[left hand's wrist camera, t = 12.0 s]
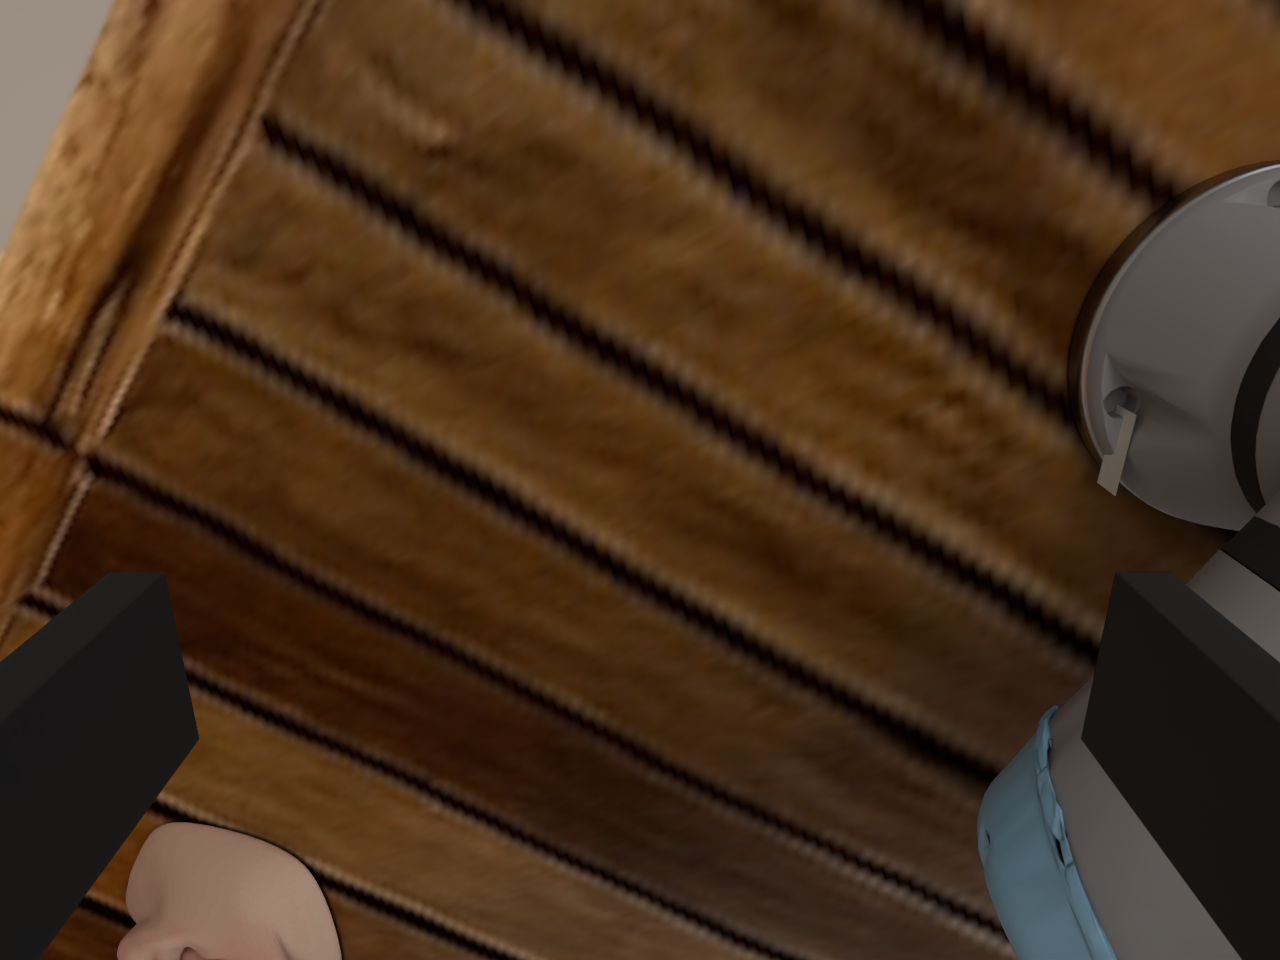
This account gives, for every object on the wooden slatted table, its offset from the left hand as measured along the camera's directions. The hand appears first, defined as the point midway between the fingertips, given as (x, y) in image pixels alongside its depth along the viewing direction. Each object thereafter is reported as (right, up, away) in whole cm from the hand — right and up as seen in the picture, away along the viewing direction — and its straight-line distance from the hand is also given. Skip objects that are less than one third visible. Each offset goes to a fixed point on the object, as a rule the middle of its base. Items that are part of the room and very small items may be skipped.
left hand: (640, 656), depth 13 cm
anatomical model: (-22, -22, +38) cm, 49 cm away
